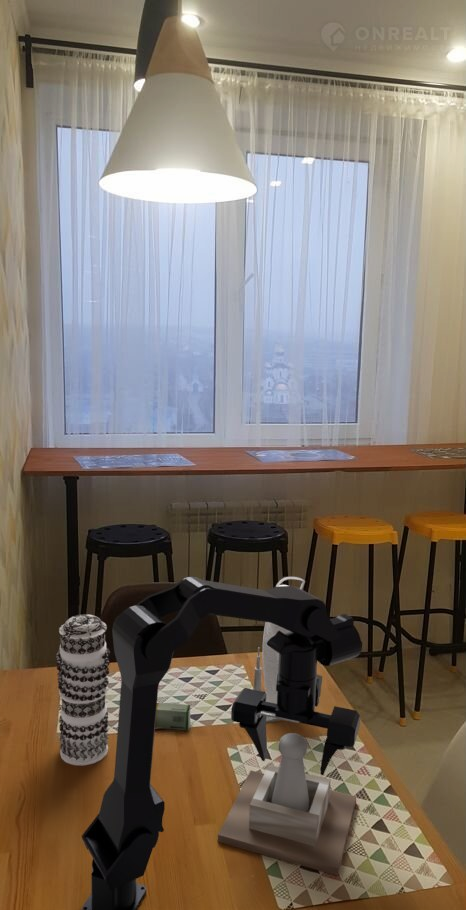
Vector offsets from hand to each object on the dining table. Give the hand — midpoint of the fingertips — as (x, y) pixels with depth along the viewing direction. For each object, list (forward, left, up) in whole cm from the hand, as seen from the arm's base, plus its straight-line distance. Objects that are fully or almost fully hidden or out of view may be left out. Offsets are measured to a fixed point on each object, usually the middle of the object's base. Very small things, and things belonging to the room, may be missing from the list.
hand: (292, 766), depth 104 cm
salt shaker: (0, 0, -8) cm, 9 cm away
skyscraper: (+29, +10, -10) cm, 32 cm away
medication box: (+16, +30, -10) cm, 36 cm away
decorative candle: (+4, +39, -10) cm, 40 cm away
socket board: (0, 0, -10) cm, 10 cm away
